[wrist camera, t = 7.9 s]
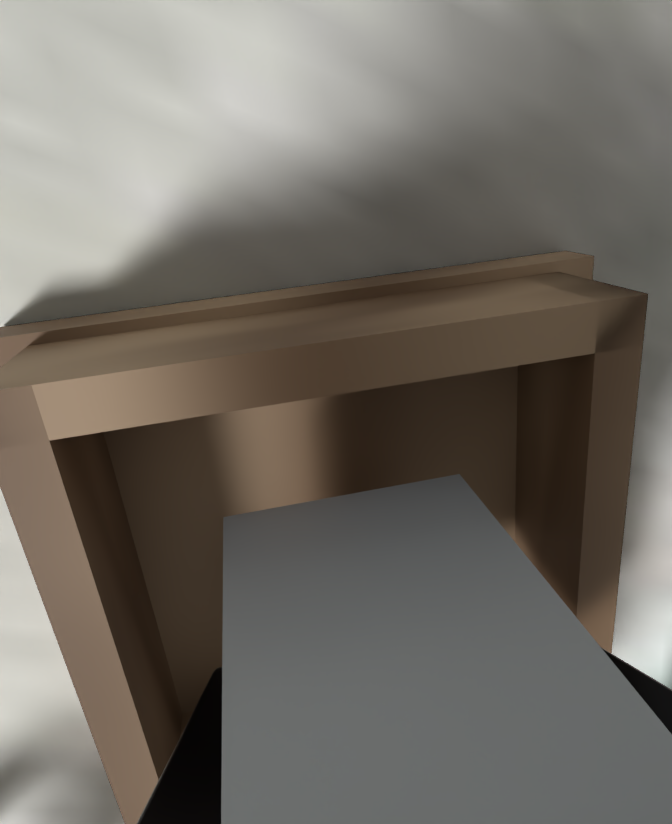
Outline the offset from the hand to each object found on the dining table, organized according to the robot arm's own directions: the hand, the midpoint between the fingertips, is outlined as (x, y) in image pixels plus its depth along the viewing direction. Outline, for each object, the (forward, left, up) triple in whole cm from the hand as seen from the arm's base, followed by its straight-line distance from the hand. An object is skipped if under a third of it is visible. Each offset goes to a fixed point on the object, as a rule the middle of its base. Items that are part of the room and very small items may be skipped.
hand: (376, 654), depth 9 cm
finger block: (0, 0, -2) cm, 2 cm away
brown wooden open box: (0, +3, -4) cm, 5 cm away
